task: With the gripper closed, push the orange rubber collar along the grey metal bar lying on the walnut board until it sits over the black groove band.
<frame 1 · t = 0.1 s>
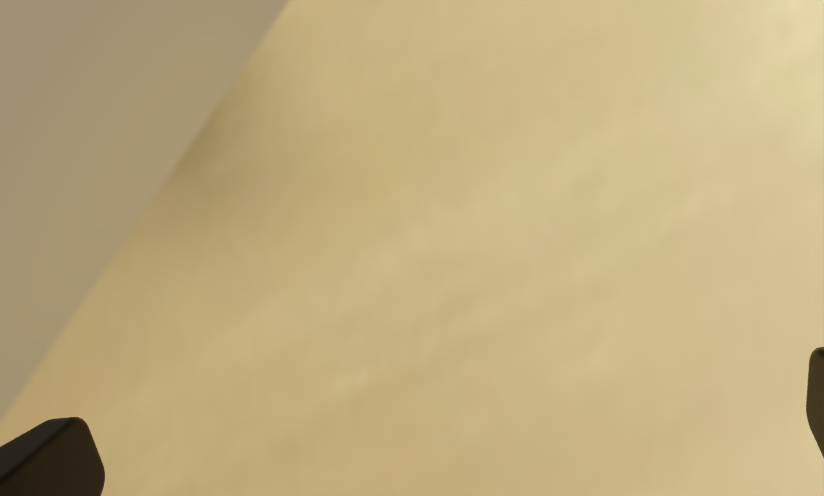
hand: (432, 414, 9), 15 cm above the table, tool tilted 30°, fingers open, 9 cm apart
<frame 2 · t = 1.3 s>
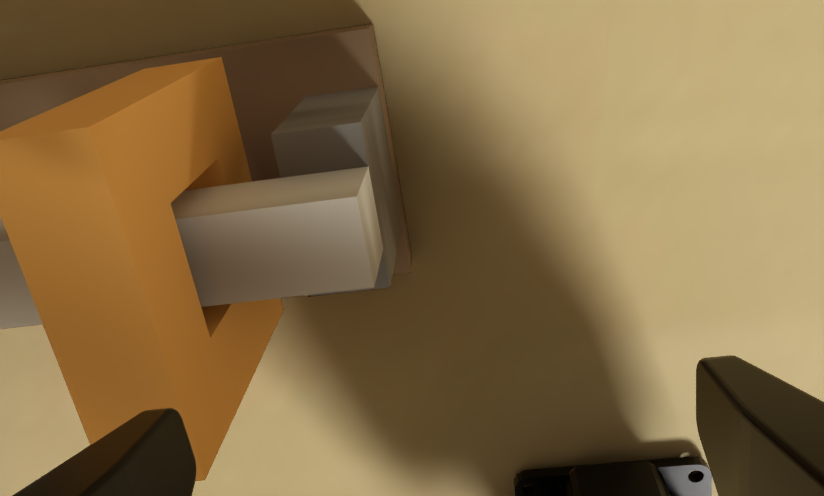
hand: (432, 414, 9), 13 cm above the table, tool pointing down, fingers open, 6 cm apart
collar: (170, 249, 16), point 6 cm above the table, slide at 0.0 cm
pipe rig: (84, 189, 22), on the table
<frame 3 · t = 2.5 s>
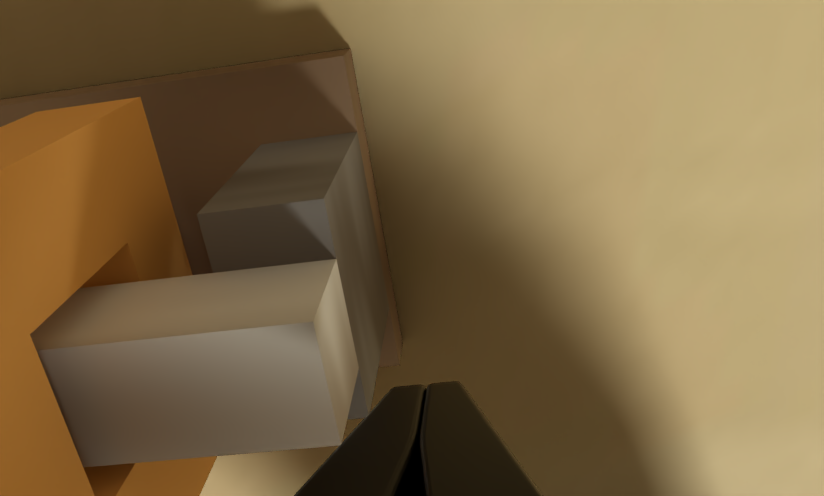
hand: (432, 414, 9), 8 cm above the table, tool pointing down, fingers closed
collar: (55, 376, 11), point 6 cm above the table, slide at 0.0 cm
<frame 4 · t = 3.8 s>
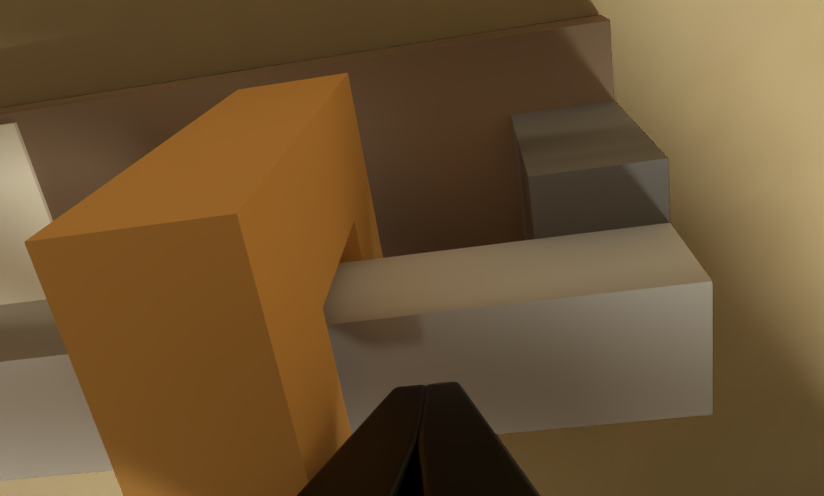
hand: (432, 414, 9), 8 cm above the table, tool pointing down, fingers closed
collar: (295, 356, 11), point 6 cm above the table, slide at 1.3 cm, touching gripper
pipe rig: (191, 236, 17), on the table
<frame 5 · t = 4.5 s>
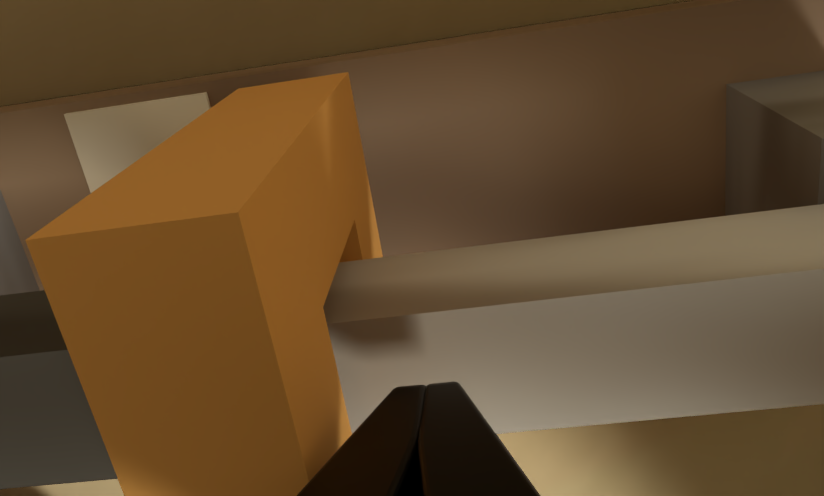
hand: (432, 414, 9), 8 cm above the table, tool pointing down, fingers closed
collar: (295, 355, 11), point 6 cm above the table, slide at 5.4 cm, touching gripper
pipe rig: (365, 212, 17), on the table
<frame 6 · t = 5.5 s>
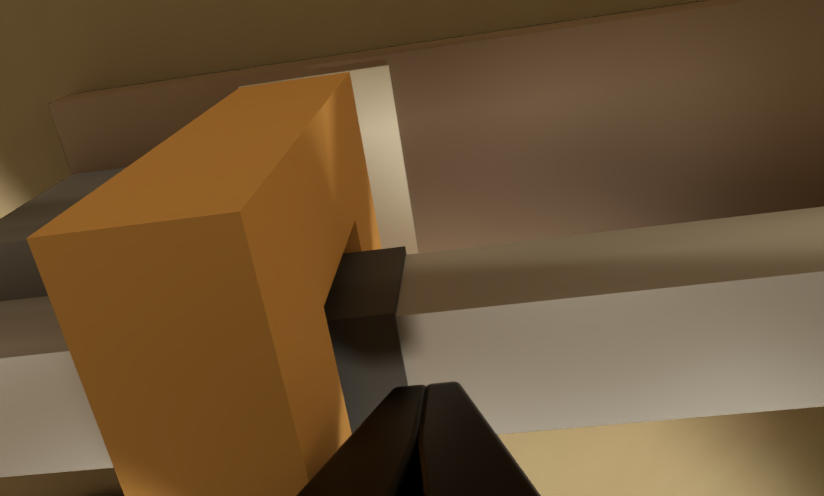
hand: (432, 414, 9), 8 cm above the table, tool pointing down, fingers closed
collar: (295, 355, 11), point 6 cm above the table, slide at 9.0 cm, touching gripper
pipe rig: (529, 192, 16), on the table
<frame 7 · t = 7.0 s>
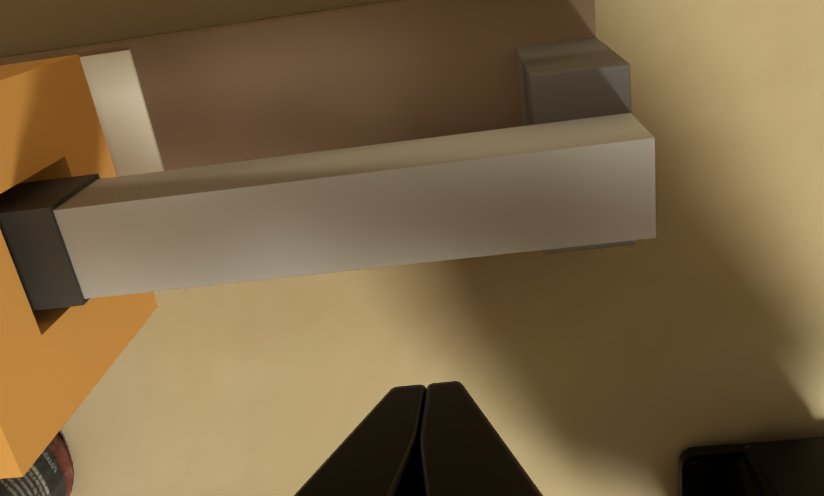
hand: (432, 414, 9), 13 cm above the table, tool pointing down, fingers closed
collar: (11, 246, 16), point 6 cm above the table, slide at 9.1 cm
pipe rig: (259, 148, 21), on the table
supplement bottle: (3, 451, 27), on the table
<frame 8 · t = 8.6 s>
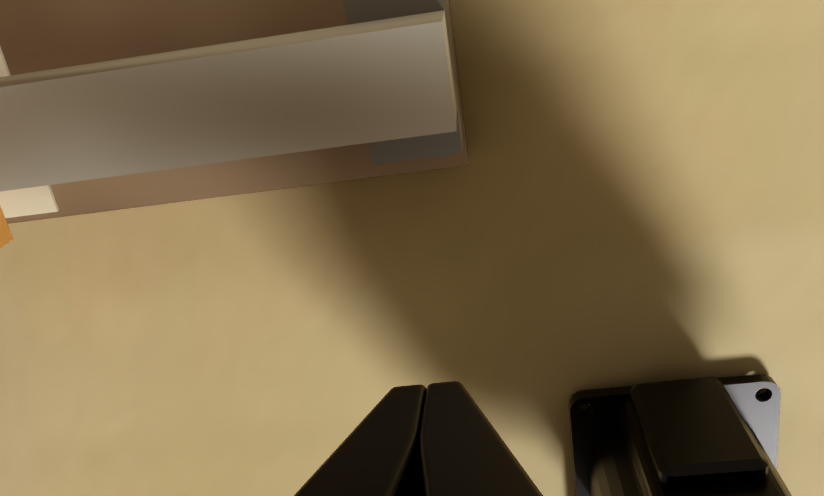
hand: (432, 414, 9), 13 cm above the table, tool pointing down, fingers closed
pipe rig: (120, 79, 21), on the table
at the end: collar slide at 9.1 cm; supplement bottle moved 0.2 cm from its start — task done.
